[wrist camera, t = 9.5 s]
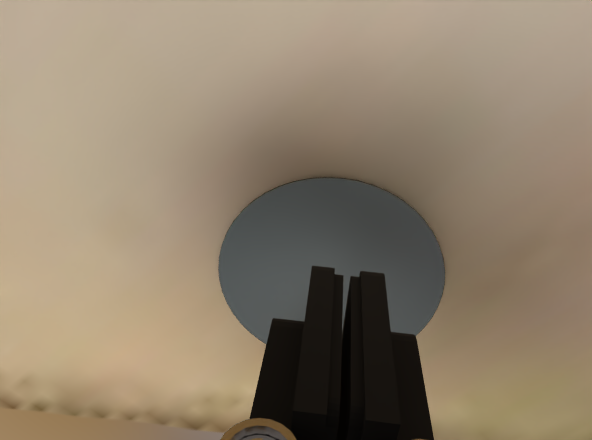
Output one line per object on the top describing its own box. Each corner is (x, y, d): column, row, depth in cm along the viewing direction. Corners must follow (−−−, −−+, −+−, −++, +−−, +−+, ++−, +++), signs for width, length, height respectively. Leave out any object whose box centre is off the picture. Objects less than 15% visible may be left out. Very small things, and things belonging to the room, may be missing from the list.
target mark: (482, 315, 29) (482, 317, 29) (297, 385, 34) (297, 387, 34) (373, 131, 24) (373, 132, 24) (174, 244, 29) (173, 246, 29)
